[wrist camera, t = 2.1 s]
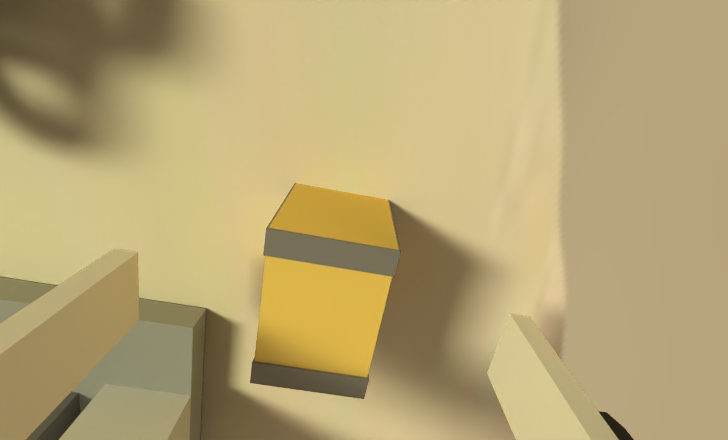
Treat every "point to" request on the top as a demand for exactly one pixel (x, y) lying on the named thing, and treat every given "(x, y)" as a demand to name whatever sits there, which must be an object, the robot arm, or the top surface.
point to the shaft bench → (130, 376)
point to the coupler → (324, 290)
